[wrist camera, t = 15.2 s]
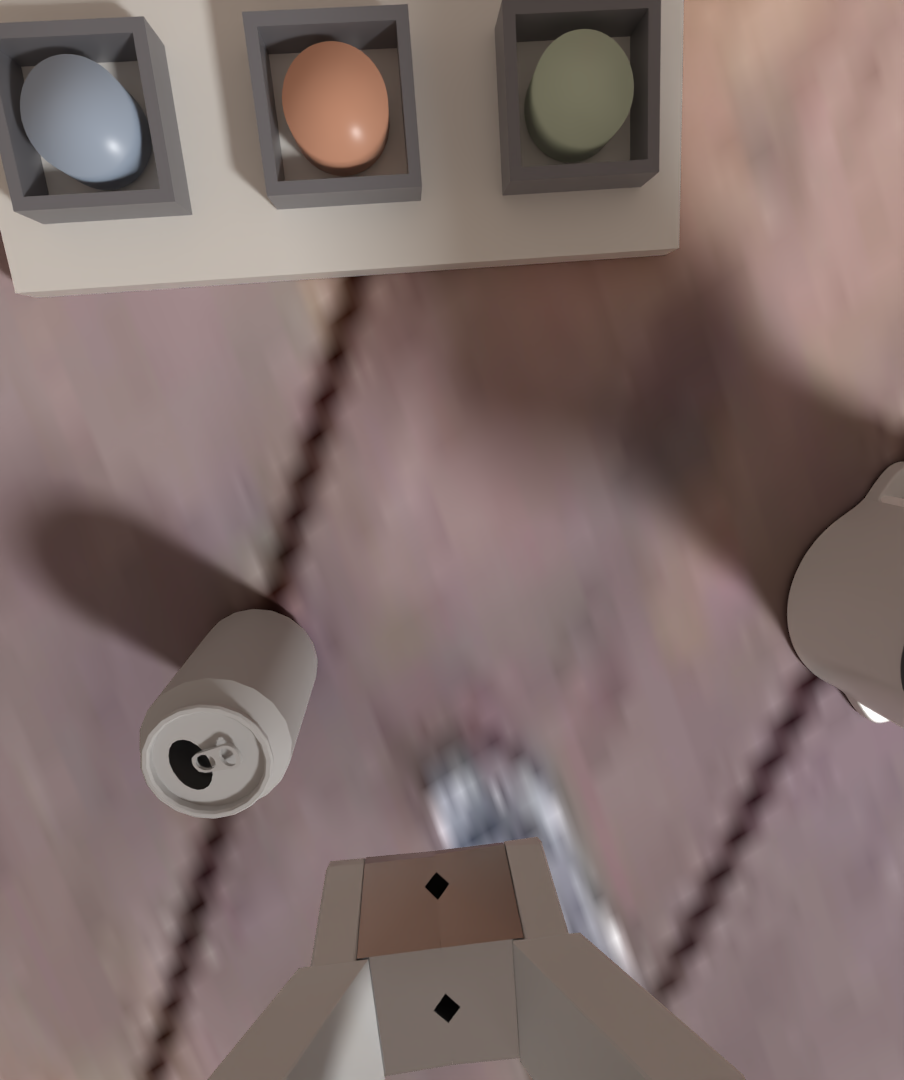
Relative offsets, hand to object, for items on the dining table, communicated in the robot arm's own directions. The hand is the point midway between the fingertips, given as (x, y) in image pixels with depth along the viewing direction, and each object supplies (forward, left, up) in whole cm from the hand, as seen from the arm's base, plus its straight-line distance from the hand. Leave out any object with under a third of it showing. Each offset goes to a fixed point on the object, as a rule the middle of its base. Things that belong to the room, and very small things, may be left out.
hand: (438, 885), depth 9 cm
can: (+11, +10, -31) cm, 35 cm away
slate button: (+14, -20, -29) cm, 38 cm away
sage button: (-10, -20, -29) cm, 36 cm away
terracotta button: (+2, -20, -29) cm, 35 cm away
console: (+2, -20, -31) cm, 37 cm away
